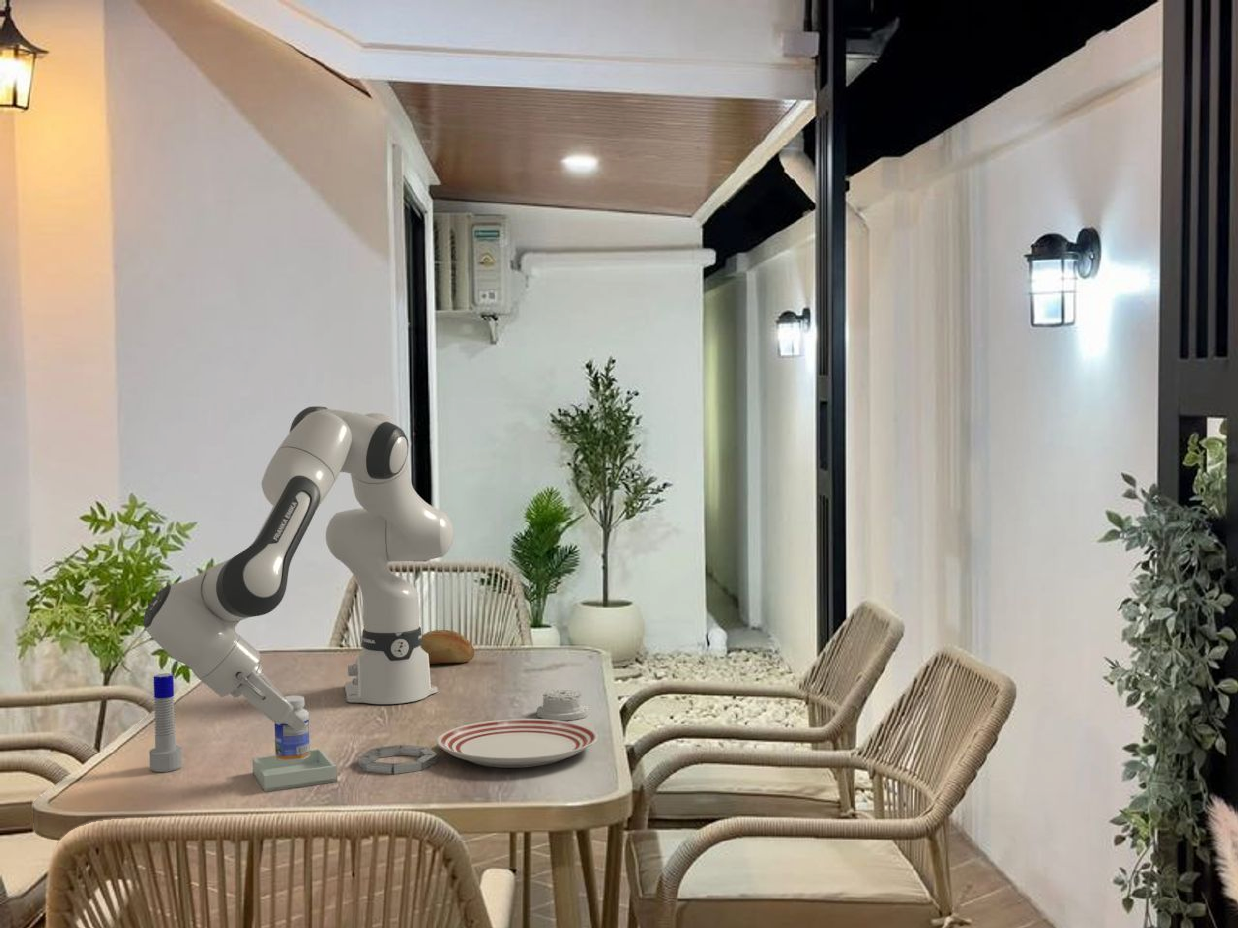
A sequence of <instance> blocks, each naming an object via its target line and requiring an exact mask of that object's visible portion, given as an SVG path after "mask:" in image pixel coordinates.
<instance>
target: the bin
mask: <svg viewBox="0 0 1238 928" xmlns="http://www.w3.org/2000/svg"><path fill="white" fill-rule="evenodd" d="M251 759H252V760H251V761H252V774H253V776H254V777H255V778H256V780H257V782H258V783H259V785H260V787H261V788H262V790H263V791H264V792H265V793H266V792H274V791H281V790H286V789H288V790H289V789H295V788H301V787H309V786H310V787H311V786H316V785H324V784H330V783H336V782H338V766H337V764H335V762H334V761H333V760H332V759H331V757H330V756H329V755H328V754H327V753H326V752H325V751H324V750H323V749H322V748H317V749H310V756H309V757H308V758H307V759H304V760H302V761H297V762H281V761H278V760H277V759H276V755H275V754H271V755H262V756H256V757H252V758H251Z"/></svg>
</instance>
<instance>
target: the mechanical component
mask: <svg viewBox="0 0 1238 928" xmlns="http://www.w3.org/2000/svg"><path fill="white" fill-rule="evenodd" d="M542 697H543V698H542V705H540V706H538V707H537V708H536V717H538V719H545V720H557V721H565V722H568V721H574V720H575V721H576V720H580V719H583V718H585V717H587V716H588V715H589V709H590V708H589V706H587V705H585V704H583V693H580V691H579V690H578V691H577V690H573V689H556V690H551V691H546V692H544V693H543V694H542Z"/></svg>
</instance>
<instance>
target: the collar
mask: <svg viewBox="0 0 1238 928" xmlns="http://www.w3.org/2000/svg"><path fill="white" fill-rule="evenodd" d="M401 755H402V756H409V757H411V756H412V757H419V758H417V759H415V760H410V761H404V762H403V761H402V762H395V763H393V762H392V763H390V762H381V761H376V760H378V759H381V758H386V757H387V758H388V757H393V756H401ZM437 760H438V753H436V752H435V751H433V749H431V748H430V747H428V746H419V745H412V744H411V745H410V744H397V745H389V746H383V747H382V746H381V747H376V748H371V749H369V750H367V751H365V752H364V753H361V754H360V755H358V756H357V765H358V766H359V767H360V768H361V769H362V770H363V771H364V772H366V773H374V774H386V775H397V774H405V773H412V772H419V771H422V770H426V769H427V768H429V767H431V766H432V765H434V764H436V763H437Z"/></svg>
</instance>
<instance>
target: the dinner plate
mask: <svg viewBox="0 0 1238 928" xmlns="http://www.w3.org/2000/svg"><path fill="white" fill-rule="evenodd" d="M598 737H599V735H598V734H597V731H596V730H594V729H592V728H590V727H588V726H586V725H583V724H579V723H576V722H570V721H557V720H546V719H542V718H512V719H497V720H490V721H489V720H487V721H479V722H474V723H470V724H464V725H460V726H458V727H454V728H451V729H449V730H447V731H444V732H443V733H442V734H441V735H439V736H438V737H437V741H436V743H437V746H439V748H440V749H442V750H443V751H444V752H446V753H447V754H450V755H452V756H454V757H456V758H459V759H462V760H465V761H468V762H471V763H473V764H475V765H480V766H484V767H490V768H503V769H507V768H508V769H516V768H517V769H518V768H519V769H522V768H533V767H539V766H544V765H545V766H546V765H551V764H554V763H558V762H559V761H562V760H564V759H567V758H569V757H572V756H574V755H577V754H579V753H581V752H583V751H584V750H586V749H588V748H589V747H591V746H592V745H593V744H595V743H596V742H597V740H598V739H599V738H598Z"/></svg>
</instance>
